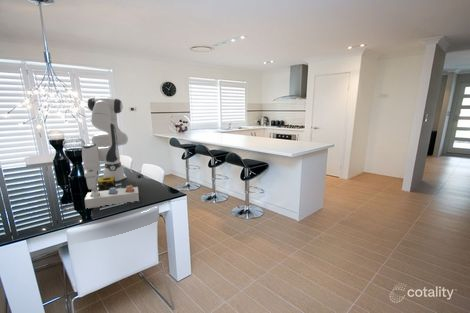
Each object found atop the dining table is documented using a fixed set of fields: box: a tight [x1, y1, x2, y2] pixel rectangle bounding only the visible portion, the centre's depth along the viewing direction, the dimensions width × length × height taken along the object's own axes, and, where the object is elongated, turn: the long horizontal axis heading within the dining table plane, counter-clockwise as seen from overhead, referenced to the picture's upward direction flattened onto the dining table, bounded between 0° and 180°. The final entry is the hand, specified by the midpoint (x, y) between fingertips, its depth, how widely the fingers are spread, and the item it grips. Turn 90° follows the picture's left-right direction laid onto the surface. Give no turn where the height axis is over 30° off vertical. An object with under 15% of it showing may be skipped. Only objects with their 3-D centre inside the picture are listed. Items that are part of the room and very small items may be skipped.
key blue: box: [109, 187, 117, 194], centre depth 151 cm, size 4×4×5 cm
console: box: [84, 186, 140, 210], centre depth 152 cm, size 12×30×6 cm, turn 114°
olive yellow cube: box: [97, 176, 117, 191], centre depth 167 cm, size 10×10×10 cm
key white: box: [91, 189, 99, 197], centre depth 147 cm, size 4×4×5 cm
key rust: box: [125, 184, 134, 192], centre depth 155 cm, size 4×4×5 cm
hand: (94, 191), depth 146 cm, fingers closed
